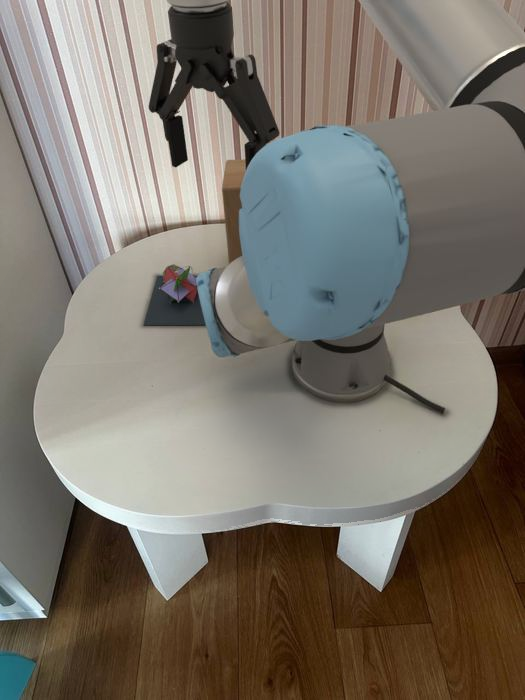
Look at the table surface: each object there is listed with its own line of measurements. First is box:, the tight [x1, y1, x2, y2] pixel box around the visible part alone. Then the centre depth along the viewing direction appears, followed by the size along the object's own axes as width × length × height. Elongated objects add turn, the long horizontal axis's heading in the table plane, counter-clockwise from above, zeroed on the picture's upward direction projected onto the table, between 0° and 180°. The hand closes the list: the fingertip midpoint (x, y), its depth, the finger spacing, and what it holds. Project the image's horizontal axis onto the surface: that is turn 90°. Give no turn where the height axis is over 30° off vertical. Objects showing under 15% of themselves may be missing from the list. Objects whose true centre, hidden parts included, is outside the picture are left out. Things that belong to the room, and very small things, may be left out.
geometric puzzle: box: [159, 263, 197, 303], centre depth 100 cm, size 7×7×8 cm
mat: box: [143, 275, 206, 327], centre depth 102 cm, size 14×12×1 cm
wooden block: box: [221, 158, 246, 265], centre depth 101 cm, size 10×10×20 cm
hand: (216, 175), depth 80 cm, fingers open, 13 cm apart
